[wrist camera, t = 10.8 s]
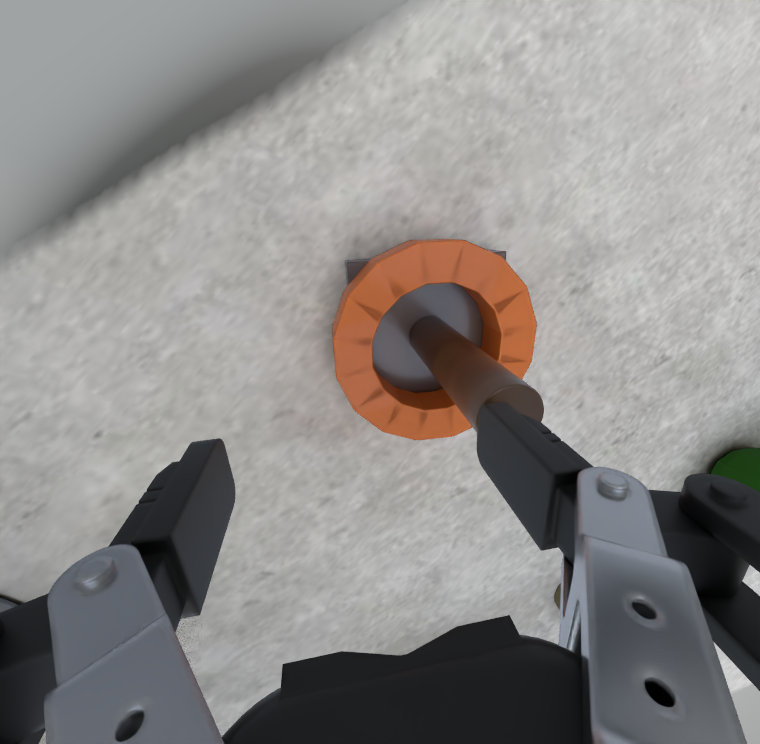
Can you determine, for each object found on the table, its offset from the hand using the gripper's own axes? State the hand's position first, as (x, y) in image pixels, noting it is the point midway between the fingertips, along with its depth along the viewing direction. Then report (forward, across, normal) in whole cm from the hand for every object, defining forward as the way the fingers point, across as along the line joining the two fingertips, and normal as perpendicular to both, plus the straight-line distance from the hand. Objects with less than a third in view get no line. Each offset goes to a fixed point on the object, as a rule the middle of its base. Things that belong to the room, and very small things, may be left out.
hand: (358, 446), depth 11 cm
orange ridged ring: (+10, -5, 0) cm, 12 cm away
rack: (+12, -5, 0) cm, 13 cm away
